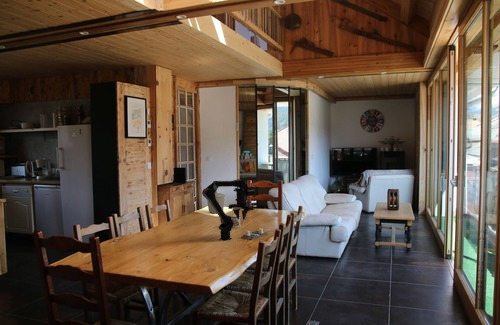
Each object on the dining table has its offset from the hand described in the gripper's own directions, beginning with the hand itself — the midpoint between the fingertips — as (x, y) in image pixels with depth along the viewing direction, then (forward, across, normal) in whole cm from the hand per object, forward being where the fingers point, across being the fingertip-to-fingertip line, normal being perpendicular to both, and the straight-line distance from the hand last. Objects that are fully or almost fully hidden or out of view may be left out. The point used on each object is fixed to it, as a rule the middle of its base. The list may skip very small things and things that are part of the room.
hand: (241, 219), depth 270 cm
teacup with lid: (+12, +22, -22) cm, 34 cm away
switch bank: (+12, -8, -5) cm, 15 cm away
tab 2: (+11, -9, -10) cm, 17 cm away
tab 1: (+11, -5, 0) cm, 12 cm away
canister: (+12, +80, -60) cm, 101 cm away
